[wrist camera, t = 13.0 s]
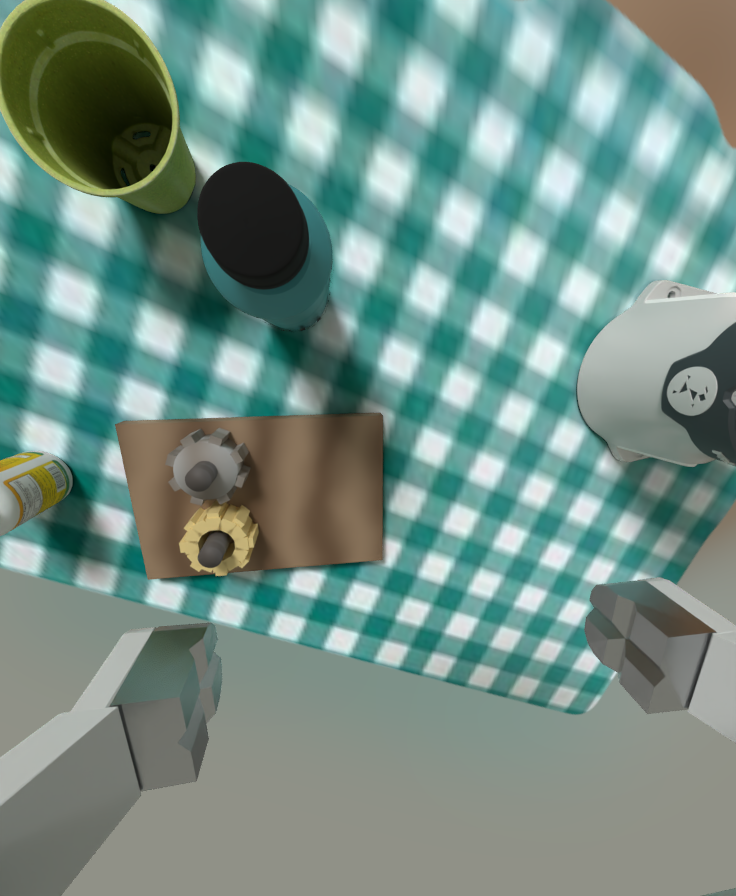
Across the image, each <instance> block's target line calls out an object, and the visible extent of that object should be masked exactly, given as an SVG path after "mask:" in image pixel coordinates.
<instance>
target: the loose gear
mask: <svg viewBox="0 0 736 896" xmlns="http://www.w3.org/2000/svg"><path fill="white" fill-rule="evenodd" d="M249 513H250V510H248V509H247V508H246V507H244V506H243V505H241V506H240V507H236V506H234V505H231V504H230V506H229V504H226V502H225V503H222V504H219V503H218V501H215V502H214V503H213V505H212V506H210V507H209V508H207V509H205V510H204V509H202V508H201V507H200V508H199V509H198V510H197V511H196V513H195V514H194V515H193V516H192V518H191V519H190V520H189V522H188V523H187V524H186V526H185V527H184V529H185V530H186V531H187V532H186V534H185V535H184V537H183V538H182V540H181V541H180V542H179V546H180V552H181V553H186V555H187V554H188V555H187V557H188V558H189V559H190V561H191V562H192V563H191V565H190V566H191V567H192V568H194V569H195V570H197V571H198V572H199V571H200V570H201V569H203V570H206V571H208V572H212V570H213V573H215V574H216V576H224V575H227V574H228V571H231V570H232V569H234V568H236V567H237V566H239V567H240V568H243V567H244V566H245V565H246V564H247V563H248V562H249V559H250V556H251V553H252V550H253V547H254V546H255V542H256V539H257V536H258V533H259V530H258V524H253V522H252V519H251V518H250V517H249ZM213 530H221V531H223V532H226V533H228V534H229V535H230V536H231V537H232V538H233V540H234V542H233V543H231V544H229V545H228V548H227V550H226V552H225V554H224V556H223V559H222V561H221V563H220V564H219V565H218V566H216V567H214V568H206V567H204V566H202V565H201V564H200V563H199V561H198V554H199V552H200V550H201V548H202V547H203V545H204V543H205V541H206V540H207V538H208V536H209V533H208V531H213Z"/></svg>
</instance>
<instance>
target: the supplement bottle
mask: <svg viewBox="0 0 736 896" xmlns="http://www.w3.org/2000/svg"><path fill="white" fill-rule="evenodd" d="M72 485H73V479H72V474H71V471H70V469H69V468H68V466H67V465H66V464H65V463H64V462H63V461H62V460H61V459H59V458H58V457H56V456H55V455H52V454H50V453H47V452H43V451H28V452H23V453H20V454H18V455H15V456H12V457H9V458H6V459H3V460H1V461H0V536H2V535H4V534H6V533H8V532H9V531H11V530H13V529H15V528H16V527H18V526H19V525H21V524H23V523H25V522H26V521H28V520H29V519H31V518H33V517H34V516H36V515H38V514H39V513H41V512H43V511H44V510H46V509H48V508H50V507H51V506H53V505H55V504H56V503H58V502H60V501H61V500H63V499H64V498H65V497H66V496H67V495H68V494H69V492H70V491H71V488H72Z"/></svg>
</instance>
